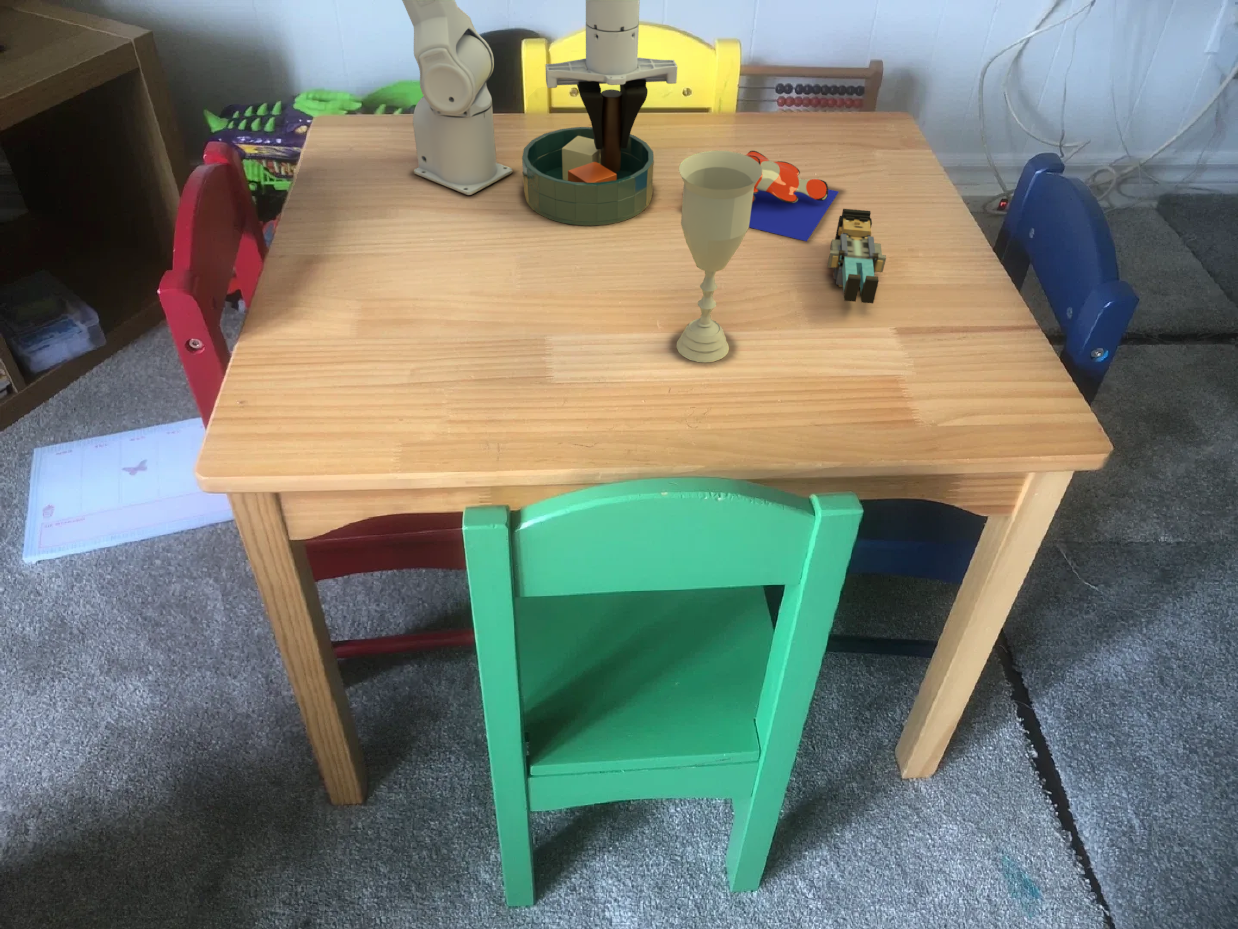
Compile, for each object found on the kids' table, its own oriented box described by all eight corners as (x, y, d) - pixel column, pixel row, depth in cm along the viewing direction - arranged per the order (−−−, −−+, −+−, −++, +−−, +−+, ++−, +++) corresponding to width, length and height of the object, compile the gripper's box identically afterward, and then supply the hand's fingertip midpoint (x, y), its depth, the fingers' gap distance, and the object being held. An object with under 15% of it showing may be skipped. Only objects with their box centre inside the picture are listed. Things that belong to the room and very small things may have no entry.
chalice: (716, 378, 85) (737, 198, 72) (652, 353, 87) (662, 175, 75) (751, 339, 89) (776, 163, 77) (690, 316, 92) (705, 143, 79)
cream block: (562, 179, 111) (561, 148, 109) (578, 166, 114) (577, 135, 111) (591, 187, 110) (591, 155, 107) (606, 173, 113) (607, 142, 110)
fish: (708, 161, 105) (734, 133, 111) (704, 199, 108) (730, 170, 114) (817, 185, 101) (838, 155, 107) (810, 224, 104) (830, 193, 110)
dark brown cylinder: (596, 169, 109) (596, 93, 103) (608, 162, 111) (609, 87, 104) (612, 175, 108) (613, 99, 102) (624, 168, 110) (626, 92, 103)
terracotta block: (568, 202, 107) (567, 170, 104) (595, 193, 109) (595, 161, 106) (588, 216, 105) (588, 183, 102) (616, 206, 107) (616, 173, 104)
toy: (834, 277, 89) (830, 203, 100) (826, 316, 92) (823, 240, 103) (893, 282, 89) (883, 208, 99) (883, 321, 92) (874, 245, 102)
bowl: (498, 198, 109) (495, 158, 105) (577, 154, 118) (577, 116, 114) (600, 239, 102) (600, 198, 99) (676, 189, 111) (678, 149, 108)
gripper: (548, 37, 94) (552, 163, 104) (685, 33, 96) (677, 157, 105) (542, 15, 99) (546, 136, 109) (673, 11, 101) (666, 131, 111)
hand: (610, 145), depth 107 cm, fingers closed on dark brown cylinder, 2 cm apart
